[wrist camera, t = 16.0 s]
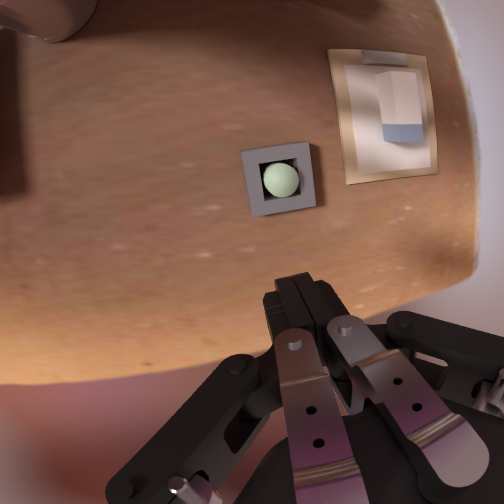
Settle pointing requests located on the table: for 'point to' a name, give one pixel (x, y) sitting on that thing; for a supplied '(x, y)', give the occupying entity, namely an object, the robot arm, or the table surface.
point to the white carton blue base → (399, 106)
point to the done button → (280, 179)
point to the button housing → (254, 185)
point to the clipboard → (379, 116)
